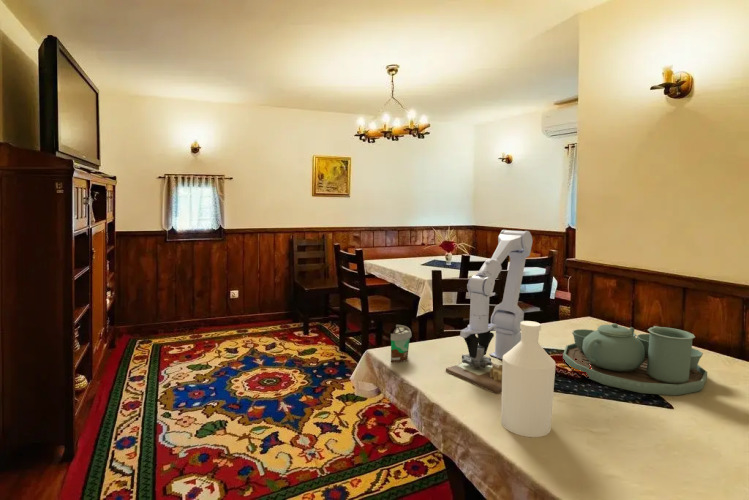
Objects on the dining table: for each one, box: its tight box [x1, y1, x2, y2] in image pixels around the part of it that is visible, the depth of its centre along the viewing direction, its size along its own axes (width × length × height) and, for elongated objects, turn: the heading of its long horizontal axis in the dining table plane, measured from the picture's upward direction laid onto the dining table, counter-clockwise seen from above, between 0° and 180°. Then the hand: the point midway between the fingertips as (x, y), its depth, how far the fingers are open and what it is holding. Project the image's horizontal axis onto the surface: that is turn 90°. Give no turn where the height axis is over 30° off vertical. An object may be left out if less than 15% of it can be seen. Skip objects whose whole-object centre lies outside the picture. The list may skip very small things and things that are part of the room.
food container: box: [390, 324, 412, 363], centre depth 149 cm, size 12×6×10 cm, turn 168°
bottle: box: [500, 320, 557, 438], centre depth 104 cm, size 12×12×25 cm
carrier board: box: [445, 362, 503, 395], centre depth 135 cm, size 16×20×4 cm
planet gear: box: [461, 344, 493, 368], centre depth 139 cm, size 9×9×5 cm
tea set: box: [562, 323, 708, 396], centre depth 141 cm, size 40×40×16 cm
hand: (477, 355), depth 139 cm, fingers closed on planet gear, 4 cm apart
